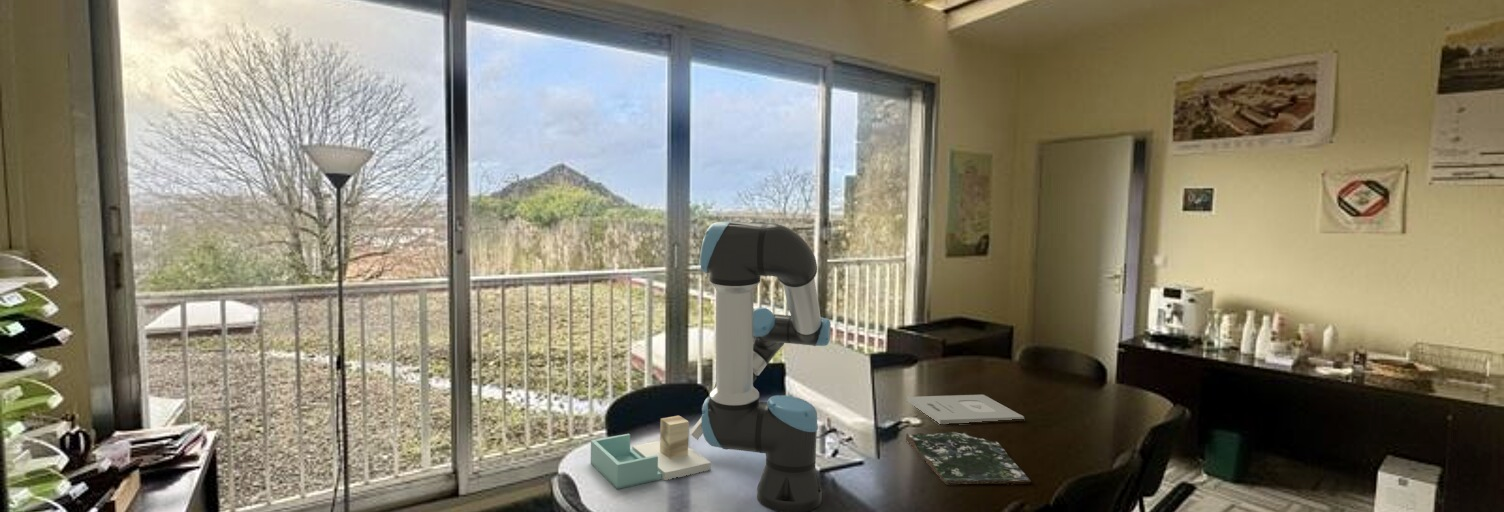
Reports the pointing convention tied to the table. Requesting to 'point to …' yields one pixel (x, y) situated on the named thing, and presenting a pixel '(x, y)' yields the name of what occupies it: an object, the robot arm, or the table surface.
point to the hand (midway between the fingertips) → (693, 436)
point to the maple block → (674, 436)
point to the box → (622, 462)
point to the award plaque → (962, 408)
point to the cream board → (673, 461)
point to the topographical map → (966, 459)
